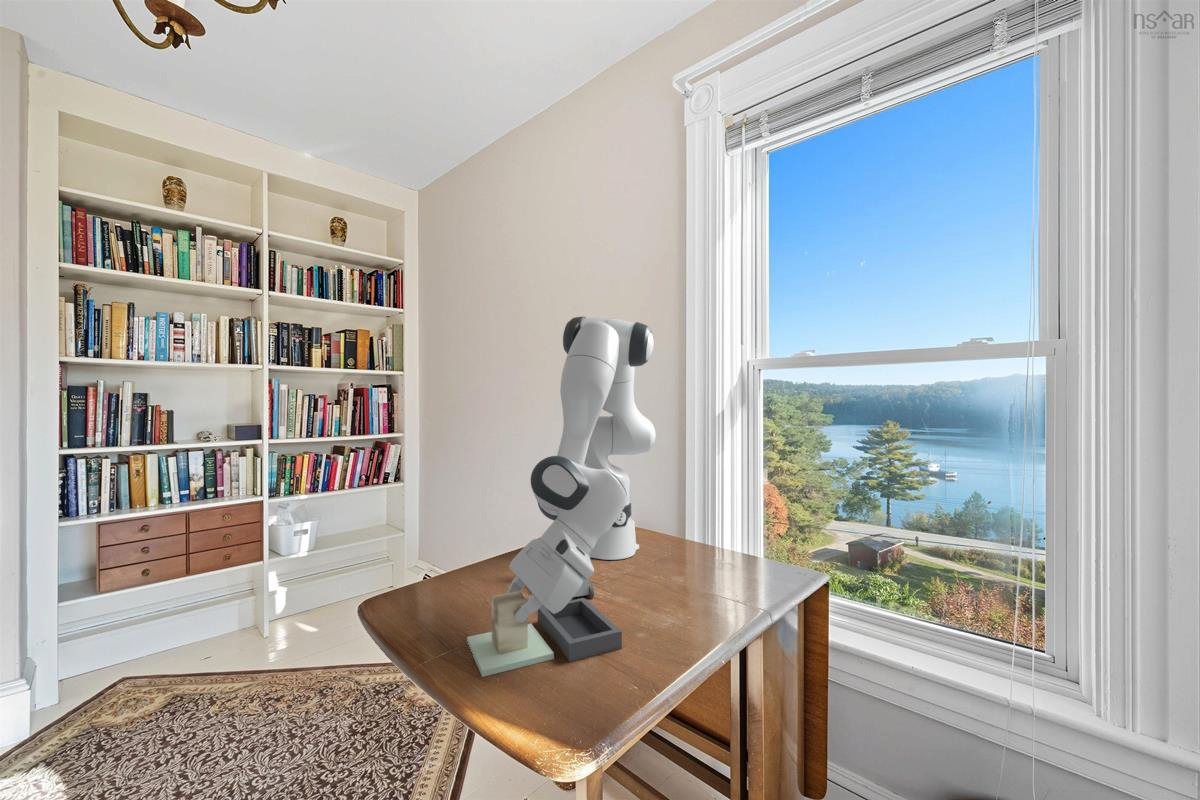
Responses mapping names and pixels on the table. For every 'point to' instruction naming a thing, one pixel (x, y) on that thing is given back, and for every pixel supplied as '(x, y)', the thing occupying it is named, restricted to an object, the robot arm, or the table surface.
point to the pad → (508, 653)
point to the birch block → (508, 623)
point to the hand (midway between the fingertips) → (511, 610)
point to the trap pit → (580, 630)
